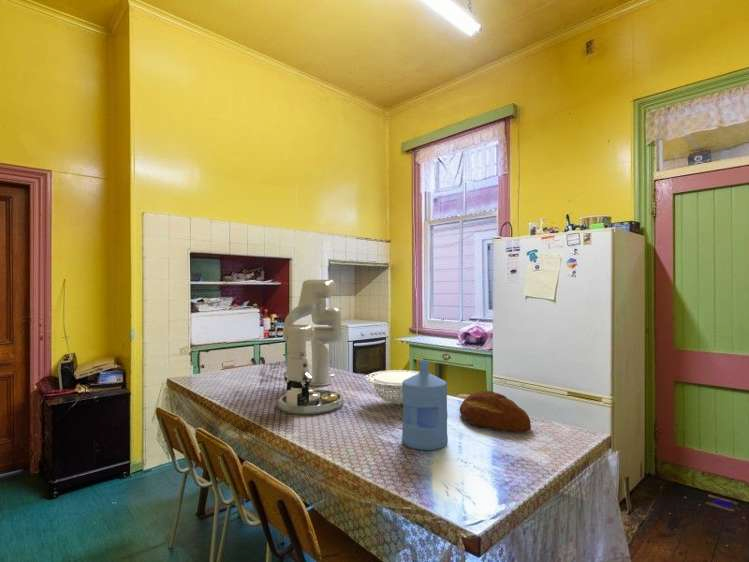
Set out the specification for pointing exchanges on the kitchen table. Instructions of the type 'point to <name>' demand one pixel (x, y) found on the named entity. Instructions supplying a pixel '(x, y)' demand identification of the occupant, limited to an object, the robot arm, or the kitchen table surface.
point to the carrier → (314, 403)
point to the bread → (494, 412)
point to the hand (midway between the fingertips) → (297, 394)
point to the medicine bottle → (297, 395)
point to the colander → (390, 383)
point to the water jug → (424, 410)
